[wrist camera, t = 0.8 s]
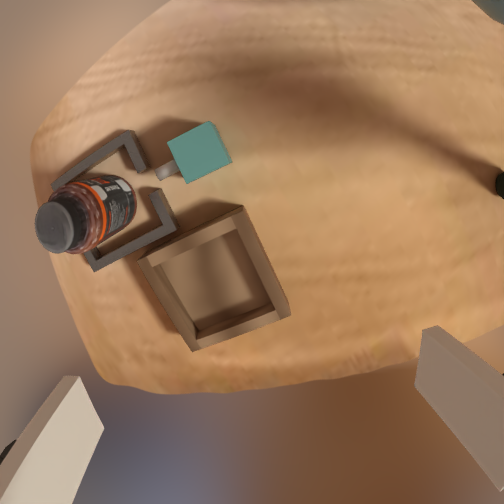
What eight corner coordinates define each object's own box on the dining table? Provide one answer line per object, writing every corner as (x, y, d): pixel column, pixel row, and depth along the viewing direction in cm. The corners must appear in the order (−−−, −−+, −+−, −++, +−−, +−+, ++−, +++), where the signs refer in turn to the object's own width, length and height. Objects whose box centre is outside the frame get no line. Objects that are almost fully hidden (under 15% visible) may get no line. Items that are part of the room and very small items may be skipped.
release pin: (214, 125, 27) (209, 120, 24) (232, 162, 28) (229, 163, 25) (155, 155, 28) (142, 156, 24) (172, 191, 29) (161, 196, 25)
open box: (243, 205, 30) (242, 210, 27) (288, 301, 33) (291, 315, 30) (146, 251, 31) (136, 261, 29) (196, 337, 35) (192, 352, 32)
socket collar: (134, 130, 28) (128, 129, 26) (180, 226, 31) (176, 230, 29) (57, 182, 29) (50, 184, 27) (99, 267, 32) (94, 272, 30)
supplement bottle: (128, 166, 29) (69, 174, 18) (146, 220, 30) (97, 254, 20) (83, 186, 29) (17, 204, 18) (100, 236, 31) (42, 274, 20)
